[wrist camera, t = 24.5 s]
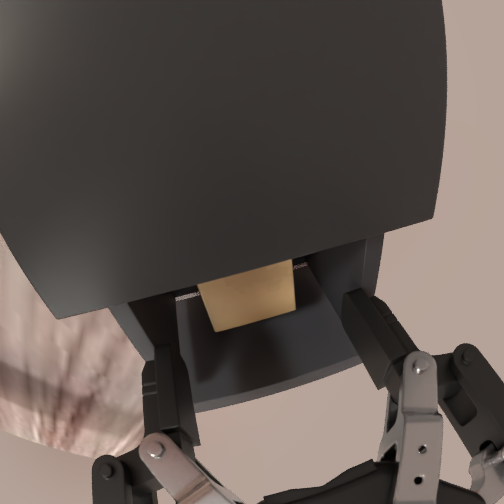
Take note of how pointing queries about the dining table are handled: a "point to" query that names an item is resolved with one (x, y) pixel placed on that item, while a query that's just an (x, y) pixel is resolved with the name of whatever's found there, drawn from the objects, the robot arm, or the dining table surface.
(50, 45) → the dark grey box
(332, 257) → the drawer
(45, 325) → the dining table surface
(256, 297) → the block
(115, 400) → the dining table surface
